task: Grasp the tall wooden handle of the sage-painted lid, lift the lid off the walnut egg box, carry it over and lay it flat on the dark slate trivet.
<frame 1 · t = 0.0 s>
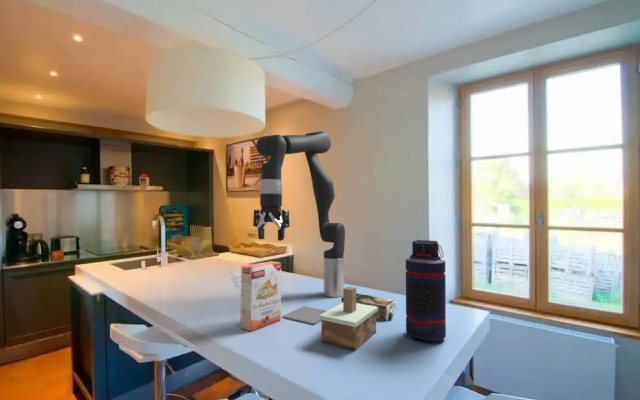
hand: (270, 239, 111), 29 cm above the countertop, fingers open, 8 cm apart
trivet: (308, 315, 121), on the countertop
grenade: (426, 336, 102), on the countertop
lid: (349, 314, 101), point 7 cm above the countertop, touching egg box
cracker box: (261, 324, 112), on the countertop
juice carton: (368, 314, 124), on the countertop
egg box: (349, 337, 101), on the countertop
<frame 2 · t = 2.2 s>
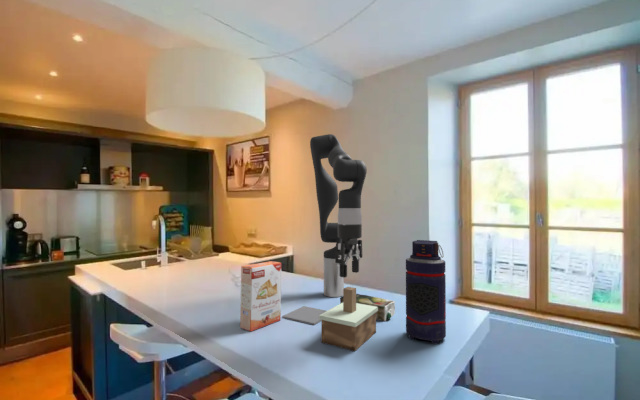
hand: (349, 274, 101), 19 cm above the countertop, fingers open, 8 cm apart
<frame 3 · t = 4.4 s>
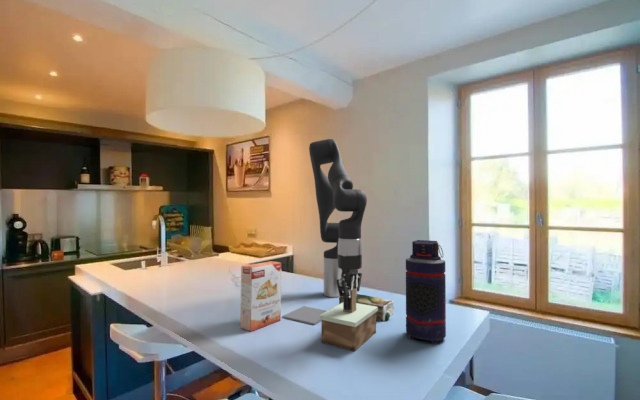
hand: (349, 307, 101), 9 cm above the countertop, fingers closed on lid, 3 cm apart
lid: (349, 314, 101), point 7 cm above the countertop, touching egg box, gripper
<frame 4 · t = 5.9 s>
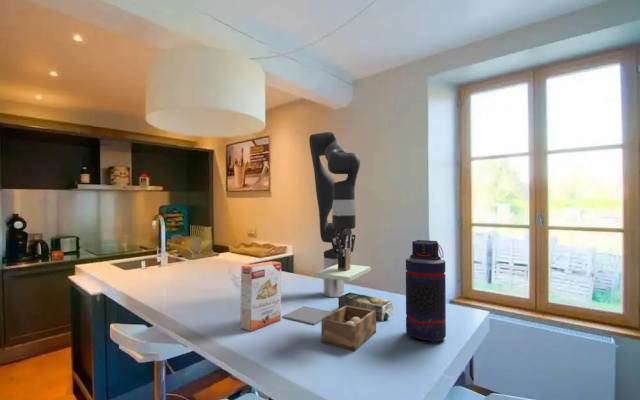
hand: (343, 266, 105), 21 cm above the countertop, fingers closed on lid, 3 cm apart
lid: (344, 273, 105), point 19 cm above the countertop, touching gripper
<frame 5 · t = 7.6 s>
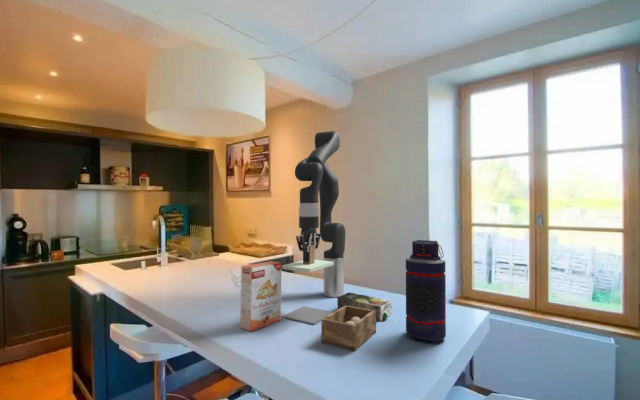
hand: (308, 261, 121), 20 cm above the countertop, fingers closed on lid, 3 cm apart
lid: (308, 266, 121), point 18 cm above the countertop, touching gripper
when the fingers open (5 cm above the countertop, at t = 11.0 s): lid drops 1 cm, resting on trivet.
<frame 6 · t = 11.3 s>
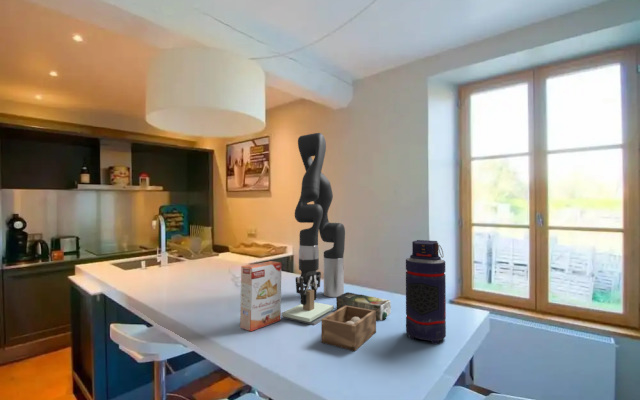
hand: (308, 301, 121), 5 cm above the countertop, fingers open, 6 cm apart
lid: (308, 312, 121), point 1 cm above the countertop, touching trivet
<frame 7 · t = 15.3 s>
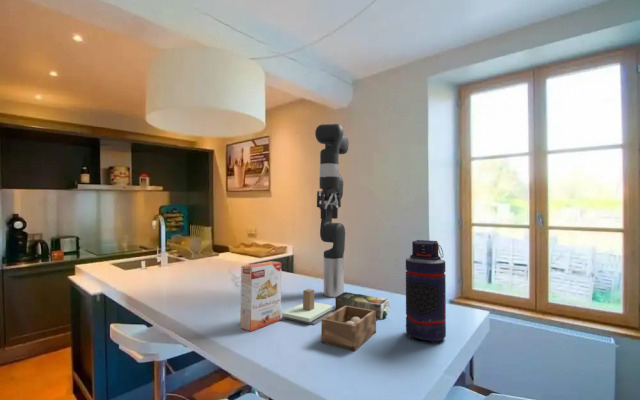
hand: (329, 219, 122), 36 cm above the countertop, fingers open, 8 cm apart
at the end: lid point 1.2 cm above the countertop; lid 0.1 cm from the trivet (horizontally); lid tilted 0° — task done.
